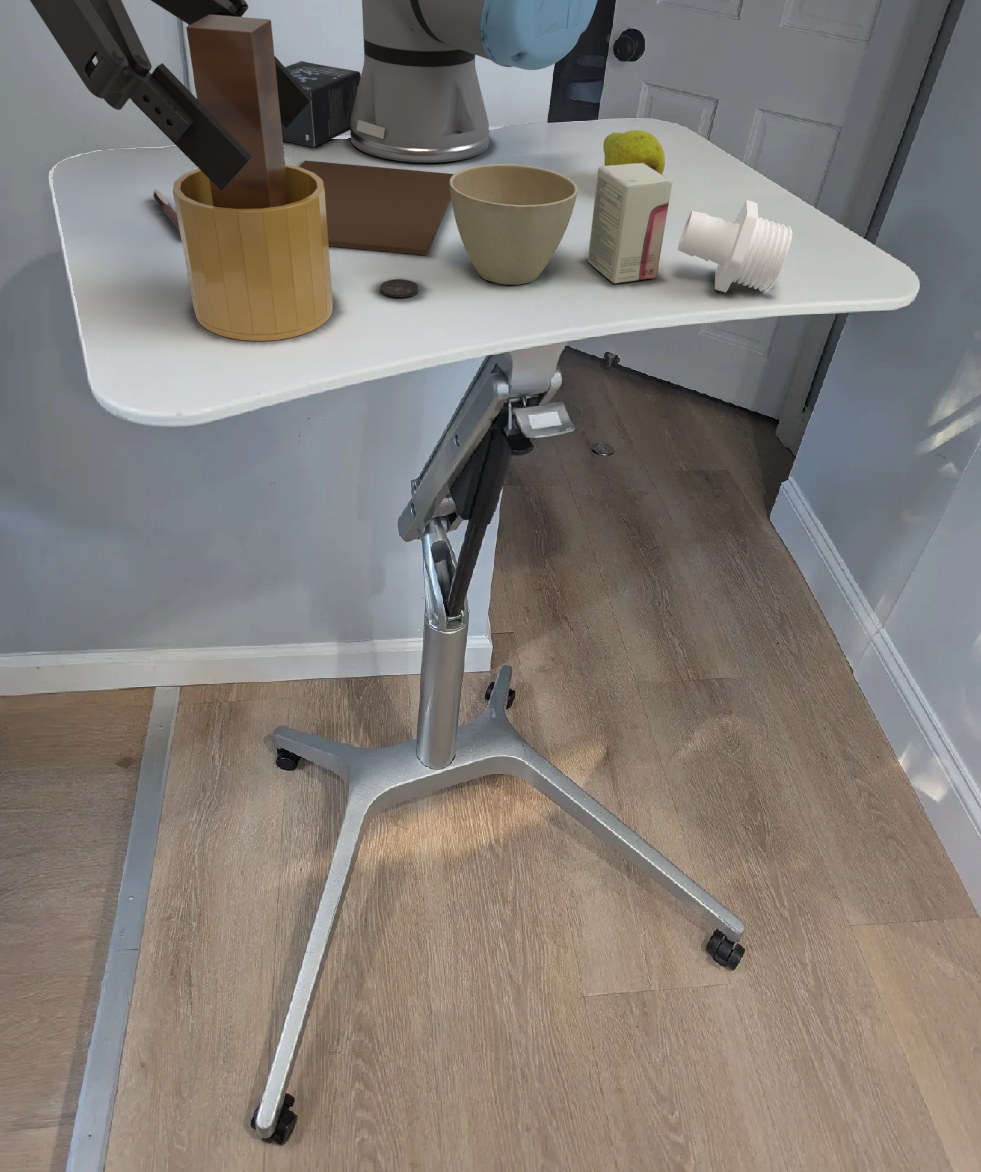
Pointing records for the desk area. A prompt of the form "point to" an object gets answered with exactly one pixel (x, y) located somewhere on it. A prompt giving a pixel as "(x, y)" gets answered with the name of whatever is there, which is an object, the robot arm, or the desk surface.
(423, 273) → the desk surface
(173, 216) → the pen
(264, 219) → the wooden pot
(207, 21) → the block
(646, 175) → the small box
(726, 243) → the pipe fitting
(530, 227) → the bowl
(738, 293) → the desk surface
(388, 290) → the coin
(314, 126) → the box
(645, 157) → the fruit
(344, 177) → the mat
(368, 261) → the desk surface
